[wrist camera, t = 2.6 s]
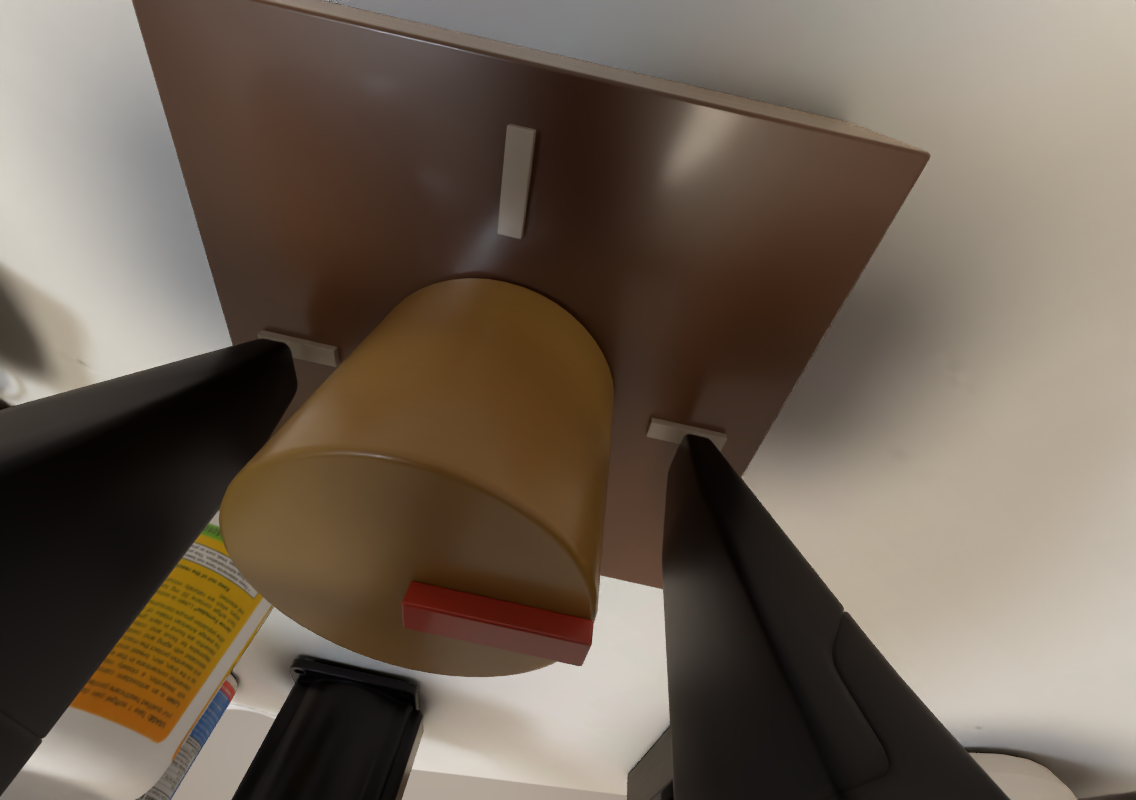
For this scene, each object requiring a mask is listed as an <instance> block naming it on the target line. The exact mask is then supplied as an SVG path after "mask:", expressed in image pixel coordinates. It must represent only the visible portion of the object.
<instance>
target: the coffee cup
mask: <svg viewBox="0 0 1136 800" xmlns="http://www.w3.org/2000/svg"><path fill="white" fill-rule="evenodd" d="M969 754H970V755H971V756H972V758H973V759H974V760H975V761H976V762H977V763H978V764H979V765H980V766H981V767H982V769H983V770H984V771H985V772H986V773H987V774H988V775H989V776H990V777H991V779H992V780H993V781H994V782H995V783H996V784H997V785H998V786H999V787H1000V788H1001V790H1002V791H1003V792H1004V793H1005V794H1006V795H1007V796H1008V797H1009V798H1010V799H1011V800H1077V798H1076V797H1075V795H1074V794H1073V793H1072V791H1071V790H1070V789H1069V788H1068V787H1067V786H1066V785H1065V784H1064V783H1063V782H1061V781H1060V780H1059V779H1058V778H1057V777H1056V776H1055V775H1054V774H1053V773H1052V772H1051V771H1050V770H1048V769H1047V768H1046V767H1044V766H1042V765H1040V764H1038V763H1035V762H1033V761H1031V760H1029V759H1024V758H1019V757H1014V756H1009V755H1004V754H986V753H969Z"/></svg>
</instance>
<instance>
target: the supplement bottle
mask: <svg viewBox="0 0 1136 800" xmlns="http://www.w3.org/2000/svg"><path fill="white" fill-rule="evenodd" d="M219 514H220V512H219V511H218V512H217V513H216V515H215V516H214V517H213V518H212V520H211V521H210V522H209V524H208V525H207V526H206V528H205V529H204V530H203V532H202V533H201V534H200V535H199V537H198V538H197V539H196V541H195V542H194V543H193V545H192V546H191V547H190V549H189V550H188V551H187V552H186V554H185V555H184V556H183V558H182V559H181V560H180V562H179V563H178V564H177V566H176V567H175V568H174V570H173V571H172V572H171V573H170V575H169V576H168V577H167V579H166V580H165V581H164V583H163V584H162V585H161V587H160V588H159V589H158V590H157V592H156V593H155V594H154V596H153V597H152V598H151V600H150V601H149V602H148V604H147V605H146V606H145V607H144V609H143V610H142V611H141V613H140V614H139V615H138V617H137V618H136V619H135V621H134V622H133V623H132V625H131V626H130V627H129V628H128V630H127V631H126V632H125V634H124V635H123V636H122V638H121V639H120V640H119V642H118V643H117V644H116V645H115V647H114V648H113V649H112V651H111V652H110V653H109V655H108V656H107V657H106V659H105V660H104V661H103V662H102V664H101V665H100V666H99V668H98V669H97V670H96V672H95V673H94V674H93V676H92V677H91V678H90V679H89V681H88V682H87V683H86V685H85V686H84V687H83V689H82V690H81V691H80V693H79V694H78V695H77V697H76V698H75V699H74V700H73V702H72V703H71V704H70V706H69V707H68V708H67V710H66V711H65V712H64V714H63V715H62V716H61V717H60V719H59V720H58V721H57V723H56V724H55V725H54V727H53V728H52V729H51V731H50V732H49V733H48V734H47V736H46V737H45V738H43V739H42V743H41V744H40V746H39V747H38V748H37V750H36V751H35V752H34V754H33V755H32V756H31V757H30V759H29V760H28V761H27V763H26V764H25V765H24V767H23V768H22V769H21V771H20V772H19V773H18V774H17V776H16V777H15V778H14V780H13V781H12V782H11V784H10V785H9V786H8V788H7V789H6V790H5V791H4V793H3V794H2V795H1V797H0V800H135V799H137V798H139V797H141V796H142V795H143V794H145V793H146V792H147V791H149V790H150V789H151V788H152V787H153V786H154V785H155V784H156V783H157V781H158V780H159V779H160V778H161V776H162V775H163V773H164V772H165V771H166V769H167V768H168V766H169V765H170V764H171V762H172V761H173V759H174V758H175V757H176V755H177V754H178V752H179V750H180V749H181V747H182V746H183V744H184V743H185V741H186V740H187V738H188V737H189V735H190V734H191V732H192V730H193V729H194V727H195V726H196V724H197V723H198V721H199V720H200V718H201V717H202V715H203V714H204V712H205V711H206V709H207V708H208V706H209V704H210V703H211V701H212V700H213V698H214V697H215V695H216V694H217V692H218V691H219V689H220V688H221V686H222V685H223V683H224V682H225V680H226V679H227V677H228V676H229V674H230V673H231V671H232V670H233V668H234V666H235V665H236V664H237V662H238V661H239V659H240V658H241V656H242V654H243V653H244V651H245V650H246V648H247V647H248V645H249V644H250V642H251V641H252V639H253V638H254V636H255V635H256V633H257V632H258V630H259V629H260V627H261V626H262V624H263V623H264V621H265V620H266V618H267V617H268V615H269V614H270V612H271V610H272V609H273V607H274V606H273V605H272V604H270V603H269V602H268V601H267V600H266V599H265V598H263V597H262V596H261V595H260V594H259V593H258V592H257V591H256V590H255V589H254V588H253V587H252V586H251V585H250V584H249V583H248V582H247V580H246V579H245V578H244V577H243V576H242V575H241V573H240V572H239V570H238V569H237V568H236V566H235V565H234V564H233V562H232V560H231V558H230V556H229V554H228V553H227V551H226V549H225V546H224V543H223V540H222V537H221V534H220V526H219Z"/></svg>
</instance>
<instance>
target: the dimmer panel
mask: <svg viewBox="0 0 1136 800" xmlns="http://www.w3.org/2000/svg"><path fill="white" fill-rule="evenodd" d="M132 2H133V6H134V9H135V13H136V16H137V19H138V23H139V26H140V30H141V33H142V37H143V40H144V43H145V47H146V50H147V54H148V57H149V60H150V64H151V67H152V71H153V74H154V77H155V81H156V84H157V88H158V91H159V95H160V98H161V101H162V105H163V108H164V112H165V115H166V118H167V122H168V125H169V129H170V132H171V136H172V139H173V142H174V146H175V149H176V153H177V156H178V159H179V163H180V166H181V170H182V173H183V177H184V180H185V183H186V187H187V190H188V194H189V197H190V200H191V204H192V207H193V211H194V214H195V218H196V221H197V224H198V228H199V231H200V235H201V238H202V241H203V245H204V248H205V252H206V255H207V259H208V262H209V265H210V269H211V272H212V276H213V279H214V282H215V286H216V289H217V293H218V296H219V300H220V303H221V306H222V310H223V313H224V317H225V320H226V323H227V327H228V330H229V334H230V337H231V341H232V344H233V346H234V345H238V344H242V343H245V342H249V341H253V340H256V339H260V338H265V339H270V340H274V341H279V342H283V343H285V344H287V345H288V346H289V347H290V349H291V352H292V357H293V361H294V366H295V371H296V376H297V382H298V387H297V391H296V394H295V396H294V398H293V400H292V401H291V403H290V405H289V406H288V408H287V410H286V411H285V413H284V415H283V416H282V418H281V420H280V421H279V423H278V425H277V426H276V428H275V430H274V431H273V433H272V435H271V436H270V438H269V440H270V439H271V438H272V437H273V435H274V434H275V433H276V432H277V431H278V430H279V429H280V428H281V427H282V426H283V425H284V424H285V423H286V422H287V421H288V420H289V419H290V417H291V416H292V415H293V414H294V413H295V412H296V411H297V410H298V409H299V408H300V407H301V406H302V405H303V404H304V403H305V402H306V401H307V399H308V398H309V397H310V396H311V395H312V394H313V393H314V392H315V391H316V390H317V389H318V388H319V387H320V386H321V385H322V384H323V383H324V382H325V380H326V379H327V378H328V377H329V376H330V375H331V374H332V373H333V372H334V371H335V370H336V369H337V368H338V367H339V366H340V365H341V364H342V362H343V361H344V360H345V359H346V358H347V357H348V356H349V355H350V354H351V353H352V352H353V351H354V350H355V349H356V348H357V347H358V346H359V344H360V343H361V342H362V341H363V340H364V339H365V338H366V337H367V336H368V335H369V334H370V333H371V332H372V331H373V330H374V329H375V328H376V327H377V325H378V324H379V323H380V322H381V321H382V320H383V319H384V318H385V317H386V316H387V315H388V314H389V313H390V312H391V311H392V310H393V309H394V307H396V306H397V305H398V304H399V303H400V302H401V301H403V300H404V299H405V298H406V297H408V296H409V295H411V294H413V293H414V292H416V291H418V290H420V289H422V288H425V287H427V286H430V285H432V284H435V283H439V282H443V281H448V280H454V279H465V278H477V279H491V280H497V281H503V282H508V283H511V284H515V285H518V286H521V287H524V288H527V289H529V290H531V291H534V292H536V293H538V294H541V295H542V296H544V297H546V298H548V299H549V300H551V301H553V302H555V303H556V304H558V305H559V306H560V307H562V308H563V309H564V310H566V311H567V312H568V313H570V314H571V315H572V316H573V317H574V318H575V319H576V320H577V321H578V322H579V323H580V324H582V325H583V326H584V328H585V329H586V330H587V331H588V333H589V334H590V335H591V336H592V337H593V339H594V340H595V341H596V343H597V345H598V346H599V348H600V350H601V351H602V353H603V355H604V357H605V359H606V362H607V364H608V366H609V369H610V373H611V376H612V380H613V387H614V412H613V424H612V437H611V449H610V461H609V474H608V486H607V498H606V511H605V523H604V536H603V548H602V560H601V573H600V575H601V576H606V577H610V578H615V579H619V580H624V581H629V582H633V583H638V584H642V585H647V586H651V587H656V588H660V589H663V575H662V545H663V530H664V516H665V502H666V488H667V476H668V471H669V468H670V465H671V463H672V461H673V458H674V456H675V454H676V452H677V449H678V447H679V445H680V443H681V441H682V439H683V437H684V436H685V435H687V434H693V435H697V436H702V437H706V438H709V439H710V440H711V441H712V442H713V443H714V444H715V446H716V447H717V448H718V450H719V451H720V452H721V453H722V455H723V456H724V457H725V458H726V460H727V461H728V462H729V463H730V465H731V466H732V467H733V468H734V470H735V471H736V472H737V473H738V475H739V476H740V477H742V475H743V473H744V472H745V470H746V468H747V467H748V465H749V463H750V462H751V460H752V458H753V456H754V455H755V453H756V451H757V450H758V448H759V446H760V445H761V443H762V441H763V440H764V438H765V436H766V434H767V433H768V431H769V429H770V428H771V426H772V424H773V423H774V421H775V419H776V418H777V416H778V414H779V412H780V411H781V409H782V407H783V406H784V404H785V402H786V401H787V399H788V397H789V396H790V394H791V392H792V390H793V389H794V387H795V385H796V384H797V382H798V380H799V379H800V377H801V375H802V374H803V372H804V370H805V368H806V367H807V365H808V363H809V362H810V360H811V358H812V357H813V355H814V353H815V352H816V350H817V348H818V346H819V345H820V343H821V341H822V340H823V338H824V336H825V335H826V333H827V331H828V330H829V328H830V326H831V324H832V323H833V321H834V319H835V318H836V316H837V314H838V313H839V311H840V309H841V308H842V306H843V304H844V302H845V301H846V299H847V297H848V296H849V294H850V292H851V291H852V289H853V287H854V285H855V284H856V282H857V280H858V279H859V277H860V275H861V274H862V272H863V270H864V269H865V267H866V265H867V263H868V262H869V260H870V258H871V257H872V255H873V253H874V252H875V250H876V248H877V247H878V245H879V243H880V241H881V240H882V238H883V236H884V235H885V233H886V231H887V230H888V228H889V226H890V225H891V223H892V221H893V219H894V218H895V216H896V214H897V213H898V211H899V209H900V208H901V206H902V204H903V203H904V201H905V199H906V197H907V196H908V194H909V192H910V191H911V189H912V187H913V186H914V184H915V182H916V181H917V179H918V177H919V175H920V174H921V172H922V170H923V169H924V167H925V165H926V164H927V162H928V160H929V158H930V154H929V153H928V152H926V151H924V150H921V149H919V148H916V147H913V146H911V145H908V144H905V143H903V142H900V141H897V140H895V139H892V138H889V137H887V136H884V135H881V134H879V133H876V132H874V131H871V130H868V129H866V128H863V127H860V126H858V125H855V124H852V123H850V122H847V121H843V120H838V119H834V118H830V117H825V116H821V115H817V114H812V113H808V112H804V111H799V110H795V109H791V108H786V107H782V106H778V105H773V104H769V103H765V102H760V101H756V100H752V99H747V98H743V97H739V96H734V95H730V94H726V93H721V92H717V91H713V90H708V89H704V88H700V87H695V86H691V85H687V84H682V83H678V82H674V81H669V80H665V79H661V78H656V77H652V76H648V75H643V74H639V73H635V72H630V71H626V70H622V69H617V68H613V67H609V66H604V65H600V64H596V63H591V62H587V61H583V60H578V59H574V58H570V57H565V56H561V55H557V54H552V53H548V52H544V51H539V50H535V49H531V48H526V47H522V46H518V45H513V44H509V43H505V42H500V41H496V40H492V39H487V38H483V37H479V36H474V35H470V34H466V33H461V32H457V31H453V30H448V29H444V28H440V27H435V26H431V25H427V24H422V23H418V22H414V21H409V20H405V19H401V18H396V17H392V16H388V15H383V14H379V13H375V12H370V11H366V10H362V9H357V8H353V7H349V6H344V5H340V4H336V3H331V2H327V1H323V0H132ZM269 440H268V441H269ZM268 441H267V442H268Z"/></svg>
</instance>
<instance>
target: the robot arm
mask: <svg viewBox="0 0 1136 800" xmlns="http://www.w3.org/2000/svg"><path fill="white" fill-rule="evenodd" d="M297 387H298V382H297V376H296V371H295V366H294V361H293V357H292V352H291V349H290V347H289V346H288V345H287V344H285V343H283V342H279V341H274V340H270V339H265V338H260V339H256V340H253V341H249V342H245V343H242V344H238V345H234V346H231V347H227V348H223V349H220V350H216V351H213V352H209V353H205V354H202V355H198V356H194V357H191V358H187V359H184V360H180V361H176V362H173V363H169V364H165V365H162V366H158V367H154V368H151V369H147V370H144V371H140V372H136V373H133V374H129V375H125V376H122V377H118V378H114V379H111V380H107V381H104V382H100V383H96V384H93V385H89V386H85V387H82V388H78V389H75V390H71V391H67V392H64V393H60V394H56V395H53V396H49V397H45V398H42V399H38V400H35V401H31V402H27V403H24V404H20V405H16V406H13V407H9V408H5V409H2V410H0V797H1V795H2V794H3V793H4V791H5V790H6V789H7V788H8V786H9V785H10V784H11V782H12V781H13V780H14V778H15V777H16V776H17V774H18V773H19V772H20V771H21V769H22V768H23V767H24V765H25V764H26V763H27V761H28V760H29V759H30V757H31V756H32V755H33V754H34V752H35V751H36V750H37V748H38V747H39V746H40V744H41V743H42V739H43V738H45V737H46V736H47V734H48V733H49V732H50V731H51V729H52V728H53V727H54V725H55V724H56V723H57V721H58V720H59V719H60V717H61V716H62V715H63V714H64V712H65V711H66V710H67V708H68V707H69V706H70V704H71V703H72V702H73V700H74V699H75V698H76V697H77V695H78V694H79V693H80V691H81V690H82V689H83V687H84V686H85V685H86V683H87V682H88V681H89V679H90V678H91V677H92V676H93V674H94V673H95V672H96V670H97V669H98V668H99V666H100V665H101V664H102V662H103V661H104V660H105V659H106V657H107V656H108V655H109V653H110V652H111V651H112V649H113V648H114V647H115V645H116V644H117V643H118V642H119V640H120V639H121V638H122V636H123V635H124V634H125V632H126V631H127V630H128V628H129V627H130V626H131V625H132V623H133V622H134V621H135V619H136V618H137V617H138V615H139V614H140V613H141V611H142V610H143V609H144V607H145V606H146V605H147V604H148V602H149V601H150V600H151V598H152V597H153V596H154V594H155V593H156V592H157V590H158V589H159V588H160V587H161V585H162V584H163V583H164V581H165V580H166V579H167V577H168V576H169V575H170V573H171V572H172V571H173V570H174V568H175V567H176V566H177V564H178V563H179V562H180V560H181V559H182V558H183V556H184V555H185V554H186V552H187V551H188V550H189V549H190V547H191V546H192V545H193V543H194V542H195V541H196V539H197V538H198V537H199V535H200V534H201V533H202V532H203V530H204V529H205V528H206V526H207V525H208V524H209V522H210V521H211V520H212V518H213V517H214V516H215V515H216V513H217V512H218V511H219V509H220V506H221V502H222V499H223V497H224V494H225V492H226V489H227V487H228V485H229V484H230V483H231V481H232V480H233V479H234V477H235V476H236V475H237V474H238V472H239V471H240V470H241V469H242V468H243V467H244V466H245V465H246V464H247V463H248V462H249V461H250V460H251V459H252V458H253V457H254V456H255V454H256V453H257V452H258V451H259V450H260V449H261V448H262V447H263V446H264V445H265V444H266V443H267V441H268V440H269V438H270V436H271V435H272V433H273V431H274V430H275V428H276V426H277V425H278V423H279V421H280V420H281V418H282V416H283V415H284V413H285V411H286V410H287V408H288V406H289V405H290V403H291V401H292V400H293V398H294V396H295V394H296V391H297ZM662 575H663V594H664V614H665V633H666V653H667V672H668V692H669V711H670V731H671V750H672V770H673V789H674V800H1011V799H1010V798H1009V797H1008V796H1007V795H1006V794H1005V793H1004V792H1003V791H1002V790H1001V788H1000V787H999V786H998V785H997V784H996V783H995V782H994V781H993V780H992V779H991V777H990V776H989V775H988V774H987V773H986V772H985V771H984V770H983V769H982V767H981V766H980V765H979V764H978V763H977V762H976V761H975V760H974V759H973V758H972V756H971V755H970V754H969V753H968V752H967V751H966V750H965V749H964V748H963V746H962V745H961V744H960V743H959V742H958V741H957V740H956V739H955V738H954V737H953V735H952V734H951V733H950V732H949V731H948V730H947V729H946V728H945V727H944V726H943V724H942V723H941V722H940V721H939V720H938V719H937V718H936V717H935V715H934V714H933V713H932V712H931V711H930V710H929V709H928V708H927V706H926V705H925V704H924V703H923V702H922V701H921V700H920V698H919V697H918V696H917V695H916V694H915V693H914V692H913V690H912V689H911V688H910V687H909V686H908V685H907V684H906V683H905V681H904V680H903V679H902V678H901V677H900V676H899V675H898V673H897V672H896V671H895V670H894V668H893V667H892V666H891V665H890V664H889V662H888V661H887V660H886V659H885V658H884V656H883V655H882V654H881V653H880V651H879V650H878V649H877V648H876V647H875V645H874V644H873V643H872V642H871V641H870V639H869V638H868V637H867V636H866V634H865V633H864V632H863V631H862V629H861V628H860V627H859V626H858V624H857V623H856V622H855V621H854V619H853V618H852V617H851V616H850V614H849V613H848V612H843V610H844V608H843V606H842V604H841V603H840V602H839V601H838V599H837V598H836V597H835V596H834V594H833V593H832V592H831V591H830V589H829V588H828V587H827V586H826V584H825V583H824V582H823V581H822V579H821V578H820V577H819V575H818V574H817V573H816V572H815V570H814V569H813V568H812V567H811V565H810V564H809V563H808V562H807V560H806V559H805V558H804V557H803V555H802V554H801V553H800V552H799V550H798V549H797V548H796V547H795V545H794V544H793V543H792V541H791V540H790V539H789V538H788V536H787V535H786V534H785V533H784V531H783V530H782V529H781V528H780V526H779V525H778V524H777V523H776V521H775V520H774V519H773V518H772V516H771V515H770V514H769V513H768V511H767V510H766V509H765V507H764V506H763V505H762V504H761V502H760V501H759V500H758V499H757V497H756V496H755V495H754V494H753V492H752V491H751V490H750V489H749V487H748V486H747V485H746V484H745V482H744V481H743V480H742V478H741V477H740V476H739V475H738V473H737V472H736V471H735V470H734V468H733V467H732V466H731V465H730V463H729V462H728V461H727V460H726V458H725V457H724V456H723V455H722V453H721V452H720V451H719V450H718V448H717V447H716V446H715V444H714V443H713V442H712V441H711V440H710V439H709V438H706V437H702V436H697V435H693V434H687V435H685V436H684V437H683V439H682V441H681V443H680V445H679V447H678V449H677V452H676V454H675V456H674V458H673V461H672V463H671V465H670V468H669V471H668V476H667V488H666V502H665V516H664V530H663V545H662ZM289 670H290V672H291V675H292V677H293V680H294V682H295V684H294V686H293V688H292V690H291V691H290V693H289V695H288V697H287V699H286V701H285V702H284V704H283V706H282V708H281V710H280V712H279V713H278V715H277V717H276V719H275V721H274V723H273V725H272V726H271V728H270V730H269V732H268V734H267V736H266V737H265V739H264V741H263V743H262V745H261V747H260V748H259V750H258V752H257V754H256V756H255V758H254V760H253V761H252V763H251V765H250V767H249V769H248V771H247V772H246V774H245V776H244V778H243V780H242V782H241V783H240V785H239V787H238V789H237V791H236V792H235V794H234V796H233V798H232V800H402V797H403V793H404V790H405V787H406V784H407V781H408V778H409V775H410V772H411V769H412V765H413V762H414V759H415V756H416V753H417V750H418V747H419V744H420V740H421V737H422V734H423V714H422V712H421V710H419V691H418V687H417V686H416V685H415V684H413V683H409V682H405V681H400V680H396V679H391V678H387V677H382V676H377V675H373V674H368V673H364V672H359V671H354V670H350V669H345V668H341V667H336V666H332V665H327V664H322V663H318V662H313V661H309V660H304V659H295V660H294V661H293V663H292V665H291V666H290V668H289Z"/></svg>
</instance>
